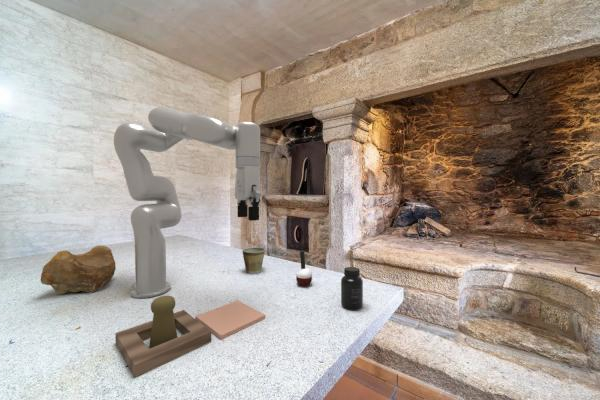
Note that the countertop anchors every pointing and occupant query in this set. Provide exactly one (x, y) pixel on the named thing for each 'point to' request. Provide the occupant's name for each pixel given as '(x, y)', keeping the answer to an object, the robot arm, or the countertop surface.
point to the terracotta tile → (229, 318)
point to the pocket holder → (149, 359)
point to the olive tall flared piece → (162, 321)
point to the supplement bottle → (352, 289)
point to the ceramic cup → (253, 259)
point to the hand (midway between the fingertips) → (247, 218)
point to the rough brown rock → (79, 270)
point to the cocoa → (304, 273)
